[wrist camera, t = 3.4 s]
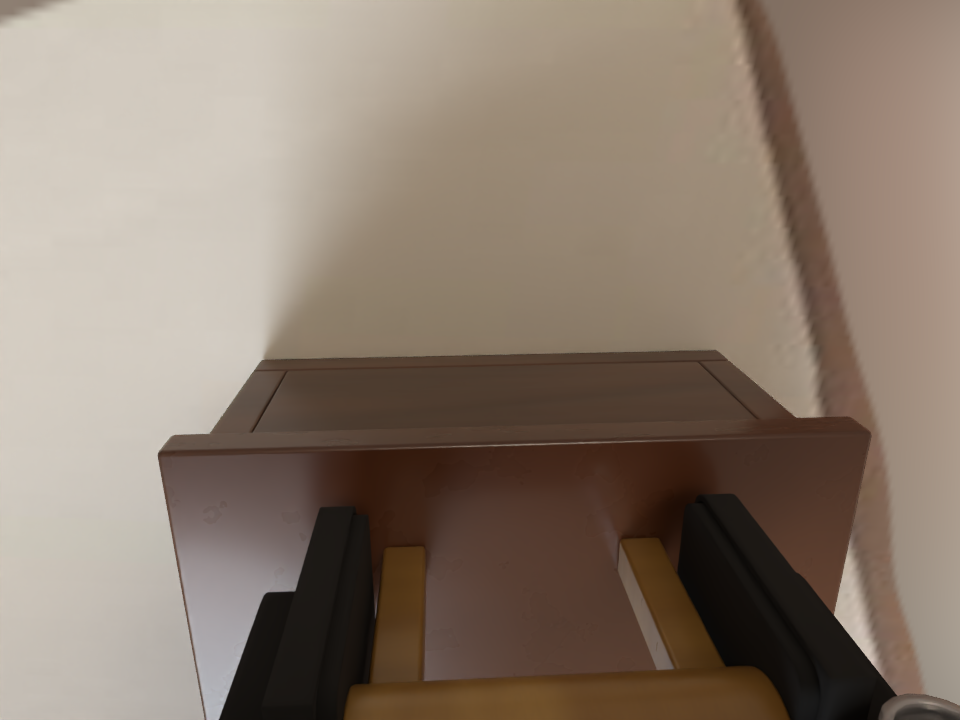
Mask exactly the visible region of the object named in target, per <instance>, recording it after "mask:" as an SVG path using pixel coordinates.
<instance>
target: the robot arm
mask: <svg viewBox="0 0 960 720" xmlns="http://www.w3.org/2000/svg"><path fill="white" fill-rule="evenodd" d="M677 574H678V576H679V578H680V579H681V581H682V583H683V585H684V587H685V589H686V591H687V593H688V595H689V597H690V599H691V601H692V602H693V604H694V606H695V608H696V610H697V612H698V614H699V616H700V618H701V620H702V622H703V624H704V625H705V627H706V629H707V631H708V633H709V635H710V637H711V639H712V641H713V643H714V645H715V647H716V648H717V650H718V652H719V654H720V656H721V658H722V660H723V662H724V664H725V666H726V667H727V666H753V667H756V668H758V669H760V670H761V671H762V672H764V673H765V674H766V675H767V676H768V678H769V679H770V680H771V681H772V683H773V684H774V686H775V687H776V689H777V691H778V692H779V694H780V696H781V698H782V700H783V702H784V704H785V707H786V709H787V711H788V714H789V716H790V719H791V720H960V706H958V705H957V704H954V703H952V702H950V701H947V700H944V699H940V698H937V697H933V696H929V695H922V694H904V695H900V696H897V695H896V694H895V692H894V691H893V690H892V689H891V687H890V686H889V685H888V684H887V682H886V681H885V680H884V679H883V677H882V676H881V675H880V673H879V672H878V671H877V670H876V668H875V667H874V666H873V665H872V663H871V662H870V661H869V659H868V658H867V657H866V656H865V654H864V653H863V652H862V651H861V649H860V648H859V647H858V645H857V644H856V643H855V642H854V640H853V639H852V638H851V637H850V635H849V634H848V633H847V632H846V630H845V629H844V628H843V626H842V625H841V624H840V623H839V621H838V620H837V619H836V618H835V616H834V615H833V614H832V612H831V611H830V610H829V609H828V607H827V606H826V605H825V604H824V602H823V601H822V600H821V598H820V597H819V596H818V595H817V593H816V592H815V591H814V590H813V588H812V587H811V586H810V584H809V583H808V582H807V581H806V580H805V579H804V578H803V577H802V576H801V575H800V574H799V573H796V572H795V570H794V569H793V568H792V567H791V565H790V564H789V563H788V561H787V560H786V559H785V558H784V556H783V555H782V554H781V552H780V551H779V550H778V549H777V547H776V546H775V545H774V543H773V542H772V541H771V540H770V538H769V537H768V536H767V534H766V533H765V532H764V531H763V529H762V528H761V527H760V526H759V524H758V523H757V522H756V520H755V519H754V518H753V517H752V515H751V514H750V513H749V511H748V510H747V509H746V508H745V506H744V505H743V504H742V502H741V501H740V500H739V499H738V497H737V496H736V495H735V494H731V493H728V494H699V495H698V496H697V497H696V499H695V503H690V504H687V505H686V507H685V510H684V517H683V525H682V534H681V543H680V552H679V561H678V569H677ZM374 627H375V604H374V588H373V573H372V558H371V542H370V527H369V517H368V514H367V515H357V513H356V508H355V506H337V507H321V508H320V509H319V512H318V515H317V518H316V522H315V525H314V529H313V532H312V536H311V539H310V542H309V546H308V549H307V553H306V556H305V559H304V563H303V566H302V570H301V573H300V576H299V580H298V583H297V587H296V590H295V591H286V592H267V593H266V594H265V595H264V596H263V598H262V601H261V603H260V606H259V608H258V611H257V614H256V617H255V620H254V622H253V625H252V628H251V631H250V634H249V636H248V639H247V642H246V645H245V648H244V650H243V653H242V656H241V659H240V662H239V665H238V667H237V670H236V673H235V676H234V679H233V681H232V684H231V687H230V690H229V693H228V695H227V698H226V701H225V704H224V707H223V709H222V712H221V715H220V718H219V720H343V716H344V709H345V703H346V698H347V695H348V691H349V689H350V687H351V686H352V685H354V684H368V677H369V669H370V660H371V652H372V644H373V635H374Z"/></svg>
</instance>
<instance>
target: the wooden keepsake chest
mask: <svg viewBox="0 0 960 720" xmlns="http://www.w3.org/2000/svg"><path fill="white" fill-rule="evenodd" d="M779 418H796V417H794V416H793V415H792V414H791V413H790V412H789V411H787V410H786V409H785V408H784V407H783V406H782V405H780V404H779V403H778V402H777V401H776V400H774V399H773V398H772V397H771V396H770V395H769V394H767V393H766V392H765V391H764V390H763V389H762V388H760V387H759V386H758V385H757V384H756V383H755V382H753V381H752V380H751V379H750V378H749V377H748V376H746V375H745V374H744V373H743V372H742V371H740V370H739V369H738V368H737V367H736V366H735V365H733V364H732V363H731V362H730V361H728V360H727V359H726V358H725V357H724V356H723V355H722V354H720V353H719V352H718V351H716V350H711V351H665V352H618V353H571V354H525V355H478V356H432V357H385V358H338V359H292V360H262V361H261V362H260V363H259V365H258V366H257V367H256V369H255V370H254V372H253V373H252V374H251V376H250V377H249V379H248V380H247V381H246V383H245V384H244V386H243V387H242V389H241V390H240V391H239V393H238V394H237V396H236V397H235V399H234V400H233V401H232V403H231V404H230V406H229V407H228V408H227V410H226V411H225V413H224V414H223V416H222V417H221V418H220V420H219V421H218V423H217V424H216V426H215V427H214V428H213V430H212V431H211V433H210V434H227V433H264V432H301V431H338V430H374V429H411V428H448V427H485V426H521V425H558V424H595V423H632V422H668V421H705V420H742V419H779Z"/></svg>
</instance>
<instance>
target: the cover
mask: <svg viewBox="0 0 960 720" xmlns="http://www.w3.org/2000/svg"><path fill="white" fill-rule="evenodd" d="M870 441H871V432H870V431H869V430H867V429H866V428H865V427H863V426H862V425H861V424H859V423H858V422H857V421H855V420H854V419H853V418H851V417H816V418H779V419H742V420H705V421H668V422H632V423H595V424H558V425H521V426H485V427H448V428H411V429H374V430H338V431H301V432H264V433H227V434H191V435H174V436H171V437H170V438H169V440H168V441H167V442H166V443H165V445H164V446H163V447H162V448H161V450H160V451H159V453H158V460H159V465H160V471H161V477H162V482H163V488H164V493H165V499H166V505H167V510H168V516H169V521H170V527H171V532H172V538H173V544H174V549H175V555H176V560H177V566H178V572H179V577H180V583H181V588H182V594H183V600H184V605H185V611H186V616H187V622H188V628H189V633H190V639H191V644H192V650H193V655H194V661H195V667H196V672H197V678H198V683H199V689H200V695H201V700H202V706H203V711H204V717H205V720H219V718H220V715H221V712H222V709H223V707H224V704H225V701H226V698H227V695H228V693H229V690H230V687H231V684H232V681H233V679H234V676H235V673H236V670H237V667H238V665H239V662H240V659H241V656H242V653H243V650H244V648H245V645H246V642H247V639H248V636H249V634H250V631H251V628H252V625H253V622H254V620H255V617H256V614H257V611H258V608H259V606H260V603H261V601H262V598H263V596H264V595H265V594H266V593H267V592H286V591H295V590H296V587H297V583H298V580H299V576H300V573H301V570H302V566H303V563H304V559H305V556H306V553H307V549H308V546H309V542H310V539H311V536H312V532H313V529H314V525H315V522H316V518H317V515H318V512H319V509H320V508H321V507H337V506H355V508H356V513H357V515H367V514H368V517H369V527H370V542H371V558H372V573H373V588H374V604H375V627H374V635H373V644H372V652H371V660H370V669H369V677H368V684H354V685H352V686H351V687H350V689H349V691H348V695H347V698H346V703H345V709H344V716H343V720H791V719H790V716H789V714H788V711H787V709H786V707H785V704H784V702H783V700H782V698H781V696H780V694H779V692H778V691H777V689H776V687H775V686H774V684H773V683H772V681H771V680H770V679H769V678H768V676H767V675H766V674H765V673H764V672H762V671H761V670H760V669H758V668H756V667H753V666H727V667H726V666H725V664H724V662H723V660H722V658H721V656H720V654H719V652H718V650H717V648H716V647H715V645H714V643H713V641H712V639H711V637H710V635H709V633H708V631H707V629H706V627H705V625H704V624H703V622H702V620H701V618H700V616H699V614H698V612H697V610H696V608H695V606H694V604H693V602H692V601H691V599H690V597H689V595H688V593H687V591H686V589H685V587H684V585H683V583H682V581H681V579H680V578H679V576H678V574H677V569H678V561H679V552H680V543H681V534H682V525H683V517H684V510H685V507H686V505H687V504H690V503H695V499H696V497H697V496H698V495H699V494H728V493H731V494H735V495H736V496H737V497H738V499H739V500H740V501H741V502H742V504H743V505H744V506H745V508H746V509H747V510H748V511H749V513H750V514H751V515H752V517H753V518H754V519H755V520H756V522H757V523H758V524H759V526H760V527H761V528H762V529H763V531H764V532H765V533H766V534H767V536H768V537H769V538H770V540H771V541H772V542H773V543H774V545H775V546H776V547H777V549H778V550H779V551H780V552H781V554H782V555H783V556H784V558H785V559H786V560H787V561H788V563H789V564H790V565H791V567H792V568H793V569H794V570H795V572H796V573H799V574H800V575H801V576H802V577H803V578H804V579H805V580H806V581H807V582H808V583H809V584H810V586H811V587H812V588H813V590H814V591H815V592H816V593H817V595H818V596H819V597H820V598H821V600H822V601H823V602H824V604H825V605H826V606H827V607H828V609H829V610H830V611H831V612H832V614H833V615H834V611H835V606H836V602H837V597H838V592H839V587H840V583H841V578H842V573H843V569H844V564H845V559H846V554H847V550H848V545H849V540H850V535H851V531H852V526H853V521H854V516H855V512H856V507H857V502H858V497H859V493H860V488H861V483H862V478H863V474H864V469H865V464H866V459H867V455H868V450H869V445H870Z"/></svg>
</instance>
